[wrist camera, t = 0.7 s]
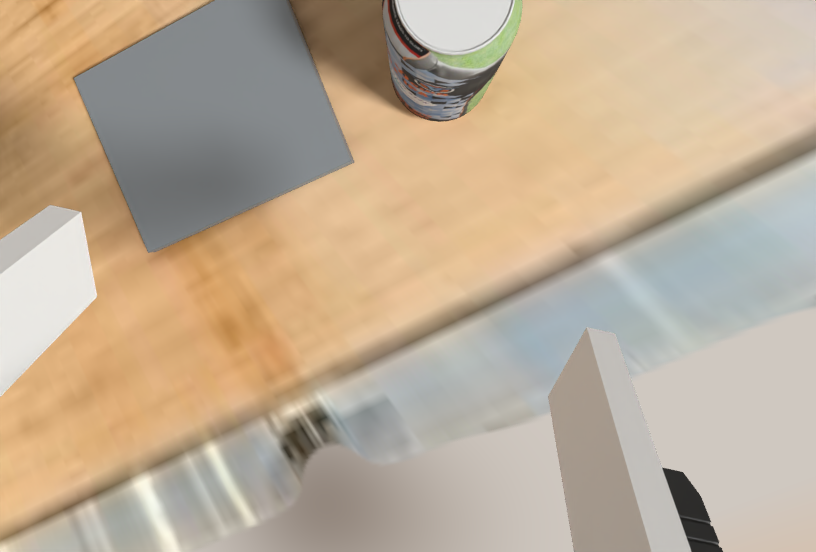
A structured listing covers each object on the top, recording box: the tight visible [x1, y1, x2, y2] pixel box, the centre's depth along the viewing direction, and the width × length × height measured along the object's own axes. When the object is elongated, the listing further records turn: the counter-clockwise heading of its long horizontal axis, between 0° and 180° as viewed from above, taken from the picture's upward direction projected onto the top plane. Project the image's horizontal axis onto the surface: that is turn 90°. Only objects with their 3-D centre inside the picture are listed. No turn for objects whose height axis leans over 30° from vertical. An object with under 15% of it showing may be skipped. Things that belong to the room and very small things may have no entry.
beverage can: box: [382, 0, 522, 122], centre depth 26 cm, size 6×7×12 cm
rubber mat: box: [74, 0, 354, 253], centre depth 35 cm, size 16×13×1 cm
